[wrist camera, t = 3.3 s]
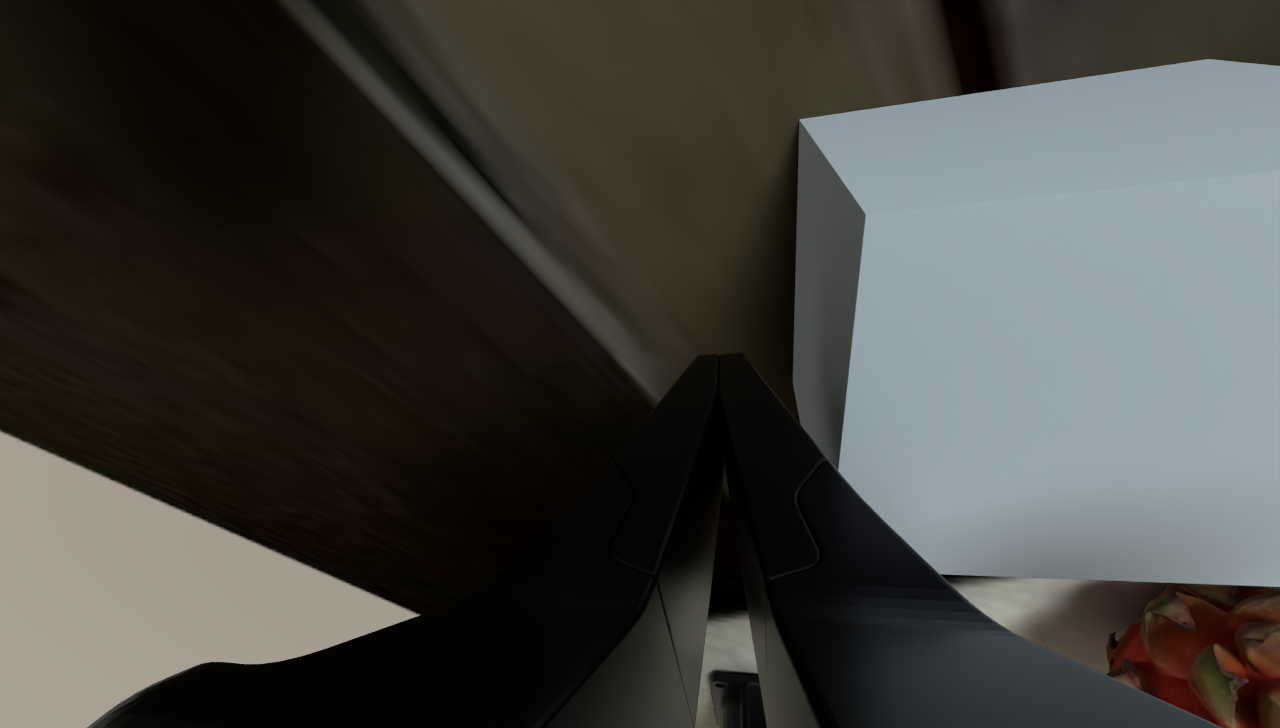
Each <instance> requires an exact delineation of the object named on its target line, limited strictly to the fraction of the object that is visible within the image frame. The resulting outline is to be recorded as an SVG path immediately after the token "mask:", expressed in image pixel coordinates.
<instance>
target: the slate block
mask: <svg viewBox="0 0 1280 728" xmlns="http://www.w3.org/2000/svg"><path fill="white" fill-rule="evenodd" d="M793 387H794V392H795V397H796V403H797V408H798V414H799V419H800V424H801V426H802V427H803V428H804V430H805V431H806V432H807V433H808V435H809V436H810V437H811V438H812V439H813V441H814V442H815V443H816V444H817V446H818V447H819V448H820V449H821V451H822V452H823V453H824V454H825V455H826V457H827V460H830V461H831V462H832V464H833V465H834V466H835V467H836V469H837V470H838V471H839V472H840V474H841V475H842V476H843V477H844V478H845V480H846V481H847V482H848V483H849V484H850V485H851V486H852V488H853V489H854V490H855V491H856V492H857V493H858V494H859V496H860V497H861V498H862V499H863V500H864V501H865V502H866V503H867V504H868V505H869V506H870V507H871V508H872V509H873V510H874V511H875V512H876V513H877V514H878V515H879V516H880V517H881V518H882V519H883V520H884V521H885V522H886V523H887V524H888V525H889V526H890V527H891V528H892V529H893V530H894V531H895V532H896V533H897V534H898V535H899V536H900V537H901V538H903V539H904V540H905V541H906V542H907V543H908V544H909V545H910V546H911V547H912V548H913V549H914V550H915V551H916V552H917V553H918V554H919V555H920V556H921V557H922V558H923V559H924V560H925V561H926V562H928V563H929V564H930V565H931V566H932V567H933V568H934V569H935V570H936V571H937V572H938V573H939V574H950V575H976V576H1003V577H1030V578H1056V579H1083V580H1109V581H1136V582H1163V583H1189V584H1216V585H1243V586H1269V587H1280V66H1272V65H1262V64H1252V63H1242V62H1232V61H1221V60H1211V59H1206V60H1200V61H1193V62H1186V63H1179V64H1173V65H1166V66H1159V67H1152V68H1145V69H1139V70H1132V71H1125V72H1118V73H1112V74H1105V75H1098V76H1091V77H1085V78H1078V79H1071V80H1064V81H1057V82H1051V83H1044V84H1037V85H1030V86H1024V87H1017V88H1010V89H1003V90H996V91H990V92H983V93H976V94H969V95H963V96H956V97H949V98H942V99H935V100H929V101H922V102H915V103H908V104H902V105H895V106H888V107H881V108H875V109H868V110H861V111H854V112H847V113H841V114H834V115H827V116H820V117H814V118H807V119H800V120H799V155H798V194H797V234H796V273H795V313H794V352H793Z"/></svg>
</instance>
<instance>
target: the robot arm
mask: <svg viewBox="0 0 1280 728" xmlns="http://www.w3.org/2000/svg"><path fill="white" fill-rule="evenodd" d="M724 457H725V468H726V476H727V483H728V489H729V495H730V502H731V508H732V514H733V520H734V526H735V533H736V539H737V545H738V551H739V557H740V564H741V570H742V576H743V582H744V588H745V595H746V601H747V607H748V613H749V619H750V626H751V632H752V638H753V644H754V650H755V657H756V663H757V669H758V675H759V677H758V676H747V675H735V674H724V673H714V674H712V675H711V691H712V697H713V703H714V708H715V714H716V720H717V725H718V726H720V727H721V728H1222V727H1220V726H1218V725H1216V724H1213V723H1211V722H1209V721H1207V720H1205V719H1202V718H1200V717H1198V716H1196V715H1194V714H1191V713H1189V712H1187V711H1185V710H1182V709H1180V708H1178V707H1176V706H1174V705H1171V704H1169V703H1167V702H1165V701H1163V700H1160V699H1158V698H1156V697H1154V696H1151V695H1149V694H1147V693H1145V692H1143V691H1140V690H1138V689H1136V688H1134V687H1132V686H1129V685H1127V684H1125V683H1123V682H1120V681H1118V680H1116V679H1114V678H1112V677H1109V676H1107V675H1105V674H1103V673H1101V672H1098V671H1096V670H1094V669H1092V668H1090V667H1087V666H1085V665H1083V664H1081V663H1078V662H1076V661H1074V660H1072V659H1070V658H1067V657H1065V656H1063V655H1061V654H1059V653H1056V652H1054V651H1052V650H1050V649H1047V648H1045V647H1043V646H1041V645H1039V644H1036V643H1034V642H1032V641H1030V640H1028V639H1025V638H1023V637H1021V636H1019V635H1017V634H1015V633H1013V632H1011V631H1010V630H1008V629H1006V628H1005V627H1003V626H1001V625H1000V624H998V623H997V622H995V621H994V620H992V619H991V618H989V617H988V616H987V615H985V614H984V613H983V612H981V611H980V610H979V609H978V608H976V607H975V606H974V605H972V604H971V603H970V602H969V601H968V600H967V599H966V598H964V597H963V596H962V595H961V594H960V593H959V592H958V591H957V590H956V589H955V588H954V587H953V586H952V585H950V584H949V583H948V582H947V581H946V580H945V579H944V578H943V577H942V576H941V575H940V574H939V573H938V572H937V571H936V570H935V569H934V568H933V567H932V566H931V565H930V564H929V563H928V562H926V561H925V560H924V559H923V558H922V557H921V556H920V555H919V554H918V553H917V552H916V551H915V550H914V549H913V548H912V547H911V546H910V545H909V544H908V543H907V542H906V541H905V540H904V539H903V538H901V537H900V536H899V535H898V534H897V533H896V532H895V531H894V530H893V529H892V528H891V527H890V526H889V525H888V524H887V523H886V522H885V521H884V520H883V519H882V518H881V517H880V516H879V515H878V514H877V513H876V512H875V511H874V510H873V509H872V508H871V507H870V506H869V505H868V504H867V503H866V502H865V501H864V500H863V499H862V498H861V497H860V496H859V494H858V493H857V492H856V491H855V490H854V489H853V488H852V486H851V485H850V484H849V483H848V482H847V481H846V480H845V478H844V477H843V476H842V475H841V474H840V472H839V471H838V470H837V469H836V467H835V466H834V465H833V464H832V462H831V461H830V460H827V457H826V455H825V454H824V453H823V452H822V451H821V449H820V448H819V447H818V446H817V444H816V443H815V442H814V441H813V439H812V438H811V437H810V436H809V435H808V433H807V432H806V431H805V430H804V428H803V427H802V426H801V425H800V423H799V422H798V421H797V420H796V419H795V417H794V416H793V415H792V414H791V412H790V411H789V410H788V409H787V408H786V406H785V405H784V404H783V403H782V401H781V400H780V399H779V398H778V396H777V395H776V394H775V393H774V392H773V390H772V389H771V388H770V387H769V385H768V384H767V383H766V382H765V380H764V379H763V378H762V377H761V376H760V374H759V373H758V372H757V371H756V369H755V368H754V367H753V366H752V364H751V363H750V362H749V361H748V360H747V358H746V357H745V356H744V355H743V354H742V353H731V354H722V355H721V356H720V357H719V355H717V354H712V355H699V356H697V357H696V358H695V359H694V361H693V362H692V363H691V364H690V365H689V367H688V368H687V369H686V370H685V371H684V373H683V374H682V375H681V376H680V378H679V379H678V380H677V381H676V382H675V384H674V385H673V386H672V387H671V388H670V390H669V391H668V392H667V393H666V395H665V396H664V397H663V398H662V399H661V401H660V402H659V403H658V404H657V406H656V407H655V408H654V409H653V410H652V412H651V413H650V414H649V415H648V416H647V418H646V419H645V420H644V421H643V423H642V424H641V425H640V426H639V427H638V429H637V430H636V431H635V432H634V434H633V435H632V436H631V437H630V438H629V440H628V441H627V442H626V443H625V444H624V446H623V447H622V448H621V449H620V451H619V452H618V453H617V454H616V455H615V457H614V458H613V460H612V461H613V462H612V461H611V462H609V464H608V465H607V466H606V467H605V469H604V470H603V471H602V472H601V473H600V475H599V476H598V477H597V478H596V479H595V480H594V481H593V483H592V484H591V485H590V486H589V487H588V488H587V489H586V491H585V492H584V493H583V494H582V495H581V496H580V497H579V498H578V499H577V500H576V501H575V502H574V503H573V504H572V505H571V506H570V507H569V508H568V510H567V511H566V512H565V513H564V514H563V515H562V516H561V517H560V518H559V519H558V520H557V521H556V522H555V523H553V524H552V525H551V526H550V527H549V528H548V529H547V530H546V531H545V532H544V533H543V534H542V535H541V536H540V537H539V538H538V539H537V540H536V541H535V542H534V543H533V544H532V545H531V546H530V547H529V548H528V549H527V550H526V551H525V552H524V553H523V554H521V555H520V556H519V557H518V558H517V559H516V560H515V561H514V562H513V563H512V564H511V565H510V566H509V567H508V568H507V569H506V570H505V571H504V572H503V573H502V574H500V575H499V576H498V577H497V578H496V579H495V580H494V581H492V582H491V583H490V584H488V585H487V586H486V587H484V588H483V589H481V590H480V591H478V592H477V593H475V594H474V595H472V596H470V597H468V598H466V599H464V600H462V601H459V602H457V603H454V604H451V605H448V606H446V607H443V608H440V609H437V610H434V611H431V612H429V613H426V614H423V615H420V616H417V617H414V618H412V619H409V620H406V621H403V622H400V623H398V624H395V625H392V626H389V627H387V628H383V629H381V630H378V631H375V632H372V633H369V634H367V635H364V636H361V637H358V638H355V639H352V640H350V641H347V642H344V643H341V644H338V645H335V646H333V647H330V648H327V649H324V650H321V651H317V652H314V653H311V654H308V655H305V656H301V657H297V658H293V659H289V660H284V661H280V662H273V663H266V664H246V665H245V664H236V663H226V662H209V663H204V664H200V665H197V666H195V667H192V668H190V669H187V670H185V671H182V672H180V673H177V674H175V675H173V676H170V677H168V678H166V679H164V680H162V681H159V682H157V683H155V684H152V685H150V686H149V687H147V688H145V689H143V690H141V691H139V692H137V693H136V694H134V695H132V696H131V697H129V698H127V699H126V700H124V701H122V702H121V703H119V704H118V705H116V706H115V707H114V708H113V709H111V710H109V711H108V712H107V713H105V714H104V715H103V716H101V717H100V718H99V719H98V720H96V721H95V722H94V723H93V724H91V725H90V726H89V727H87V728H694V727H695V722H696V713H697V704H698V696H699V687H700V678H701V670H702V661H703V652H704V643H705V635H706V626H707V617H708V608H709V600H710V591H711V582H712V574H713V565H714V556H715V547H716V539H717V530H718V521H719V513H720V504H721V495H722V486H723V477H724Z"/></svg>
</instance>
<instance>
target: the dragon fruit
mask: <svg viewBox="0 0 1280 728" xmlns="http://www.w3.org/2000/svg"><path fill="white" fill-rule="evenodd" d="M1115 633H1116V632H1114V633H1111V634H1110V636H1109V642H1108V645H1107V658H1108V662H1109V671H1110V672H1109V673H1108V674H1106V675H1107V676H1109V677H1112V678H1114V679H1116V680H1118V681H1120V682H1123V683H1125V684H1127V685H1129V686H1132V687H1134V688H1136V689H1138V690H1140V691H1143V692H1145V693H1147V694H1149V695H1151V696H1154V697H1156V698H1158V699H1160V700H1163V701H1165V702H1167V703H1169V704H1171V705H1174V706H1176V707H1178V708H1180V709H1182V710H1185V711H1187V712H1189V713H1191V714H1194V715H1196V716H1198V717H1200V718H1202V719H1205V720H1207V721H1209V722H1211V723H1213V724H1216V725H1218V726H1220V727H1222V728H1280V590H1278V591H1274V590H1272V589H1270V588H1267V587H1264V586H1243V585H1216V584H1189V583H1171V584H1169V585H1168V586H1166V587H1165V588H1164V590H1163V591H1162V593H1161V595H1160V596H1159V597H1158V598H1155V599H1154V600H1152V601H1150V602H1149V603H1148V604H1147V606H1146V608H1145V610H1144V612H1143V615H1142V621H1141V624H1140V623H1139V624H1132V625H1130V627H1129V629H1128V630H1127V631H1126V633H1125V634H1124V635H1123V636H1122V637H1121V638H1120V640H1119V642H1118V641H1116V640H1115Z"/></svg>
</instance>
